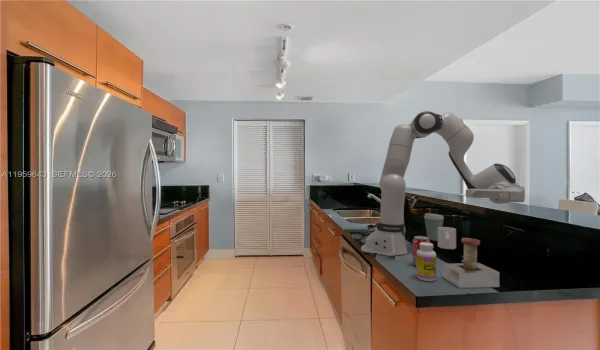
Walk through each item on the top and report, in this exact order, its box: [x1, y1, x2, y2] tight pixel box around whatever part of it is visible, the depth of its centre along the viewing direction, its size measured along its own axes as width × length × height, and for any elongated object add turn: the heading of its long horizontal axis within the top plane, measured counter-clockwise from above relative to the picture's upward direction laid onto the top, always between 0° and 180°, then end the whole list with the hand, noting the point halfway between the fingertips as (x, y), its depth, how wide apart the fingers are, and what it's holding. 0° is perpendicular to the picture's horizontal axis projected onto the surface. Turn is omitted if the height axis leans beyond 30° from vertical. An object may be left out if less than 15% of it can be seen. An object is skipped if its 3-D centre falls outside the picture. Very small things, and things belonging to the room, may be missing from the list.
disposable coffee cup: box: [423, 213, 445, 242], centre depth 163 cm, size 11×11×15 cm
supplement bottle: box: [416, 242, 437, 282], centre depth 102 cm, size 7×7×13 cm
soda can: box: [412, 235, 431, 267], centre depth 116 cm, size 7×7×12 cm
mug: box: [437, 226, 457, 250], centre depth 144 cm, size 12×9×10 cm
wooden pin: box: [461, 237, 481, 271], centre depth 98 cm, size 6×6×14 cm
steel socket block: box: [442, 262, 501, 289], centre depth 98 cm, size 14×10×5 cm
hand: (485, 194), depth 111 cm, fingers open, 8 cm apart
